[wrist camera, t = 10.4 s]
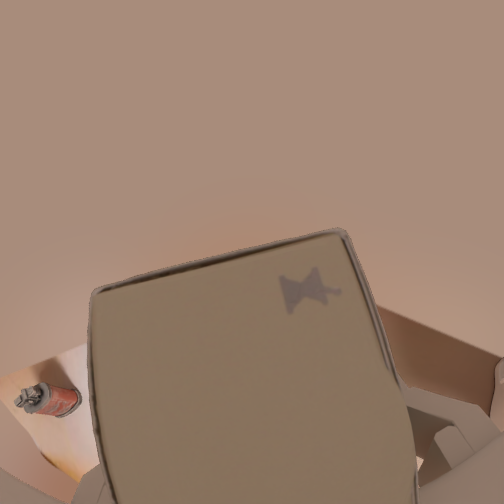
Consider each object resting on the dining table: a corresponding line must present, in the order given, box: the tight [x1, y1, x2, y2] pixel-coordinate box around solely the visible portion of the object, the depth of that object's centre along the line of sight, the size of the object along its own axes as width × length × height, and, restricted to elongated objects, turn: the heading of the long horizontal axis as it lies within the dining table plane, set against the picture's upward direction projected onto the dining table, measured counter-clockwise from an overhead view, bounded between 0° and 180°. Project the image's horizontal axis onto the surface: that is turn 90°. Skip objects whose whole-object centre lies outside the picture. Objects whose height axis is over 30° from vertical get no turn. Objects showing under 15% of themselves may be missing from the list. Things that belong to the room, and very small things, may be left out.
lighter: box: [14, 382, 82, 417], centre depth 26 cm, size 8×3×10 cm, turn 127°
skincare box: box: [87, 228, 420, 504], centre depth 7 cm, size 6×4×12 cm
